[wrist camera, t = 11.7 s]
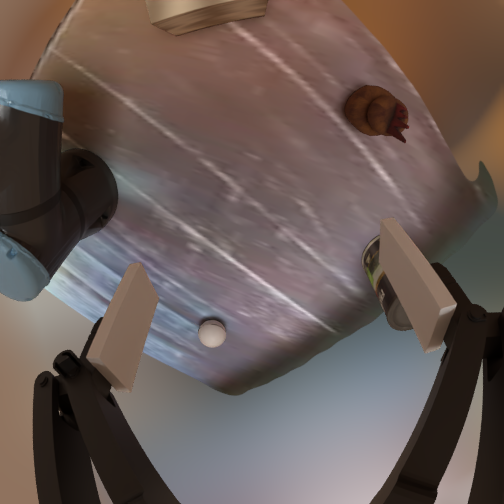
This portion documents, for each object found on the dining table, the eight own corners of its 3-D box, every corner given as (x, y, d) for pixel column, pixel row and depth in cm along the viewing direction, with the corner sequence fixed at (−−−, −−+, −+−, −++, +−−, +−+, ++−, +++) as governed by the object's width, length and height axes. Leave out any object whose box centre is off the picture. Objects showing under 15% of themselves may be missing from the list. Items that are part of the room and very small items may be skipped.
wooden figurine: (360, 135, 38) (407, 167, 26) (331, 110, 36) (372, 129, 24) (387, 104, 35) (445, 123, 23) (360, 77, 33) (413, 82, 21)
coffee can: (371, 285, 54) (395, 339, 42) (353, 249, 49) (379, 305, 38) (415, 260, 51) (448, 310, 39) (402, 221, 46) (441, 270, 34)
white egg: (232, 325, 60) (231, 346, 55) (212, 335, 62) (210, 356, 57) (207, 304, 56) (204, 325, 52) (187, 315, 58) (183, 336, 54)
